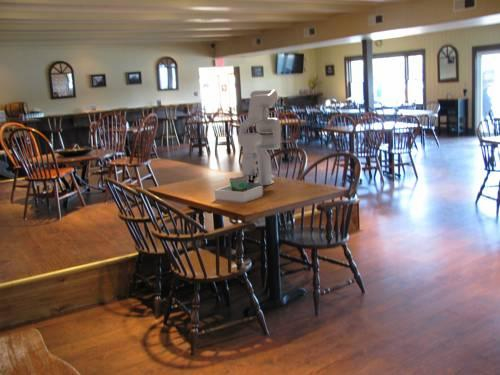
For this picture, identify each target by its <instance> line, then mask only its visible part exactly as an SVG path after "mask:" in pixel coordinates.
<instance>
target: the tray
mask: <svg viewBox="0 0 500 375" xmlns="http://www.w3.org/2000/svg"><path fill="white" fill-rule="evenodd" d="M258 186H262V195H263V194H264V185H263V183H255V182H254V183H249V181H247V190H250V189H253V188H256V187H258ZM226 191H232V189H228V190H226Z"/></svg>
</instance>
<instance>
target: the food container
mask: <svg viewBox="0 0 500 375" xmlns="http://www.w3.org/2000/svg"><path fill="white" fill-rule="evenodd" d="M247 182H248V177H247V175H244V176H240V177H234V178H233V177H230V178H229V183H230V185H231V189H232V191H238V192H244V191H247Z"/></svg>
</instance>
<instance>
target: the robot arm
mask: <svg viewBox="0 0 500 375" xmlns="http://www.w3.org/2000/svg"><path fill="white" fill-rule="evenodd" d="M277 101H278V91H277V90H275V89H257V90H253V91H251V92H250V98H249V103H248V112H247V118H246V119H245V120H243V121H242V123H241V124H240V126H239V129H238V135H237V141H238V144H239V146H242V154H243V156H242V157H243V158H242V161H241V163H242V165H241V172H242V174H243V175H242V177H244V175H247V177H248V180H247V182H249V183H263V186H268V185H272V184H274V183H275V181H274V180H273V179H275V175H273V174H272V163H271V155H270V153H269V152H268V151H267V150H269V151H271V150H274V151H275V150H276V151H277V150H279V149H280V148H281V145H282V144H281V141H282V140H281V139H282V138H281V137H282V127H281V126H282V124H281V120H280V119H279V118H278V117H270V110H269V109H272V108H273V107H274V105H276V102H277ZM254 125H255V130H256V132H250V133H249V132H246V131H247V129H249V128H250V127H252V126H254ZM245 132H246V133H245ZM255 179H256V181H255Z"/></svg>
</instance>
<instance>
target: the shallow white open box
mask: <svg viewBox="0 0 500 375" xmlns="http://www.w3.org/2000/svg"><path fill="white" fill-rule="evenodd" d="M228 189H231V184H229V185H226V186H222V187H219V188H215V190H214V201H220V202H229V203H239V204H245V203H248V202H250V201H253V200H256V199H259V198H261V197H263V194H262V186H258V187H256V188H253V189H250V190H247V191H244V192H238V191H226V190H228Z"/></svg>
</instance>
